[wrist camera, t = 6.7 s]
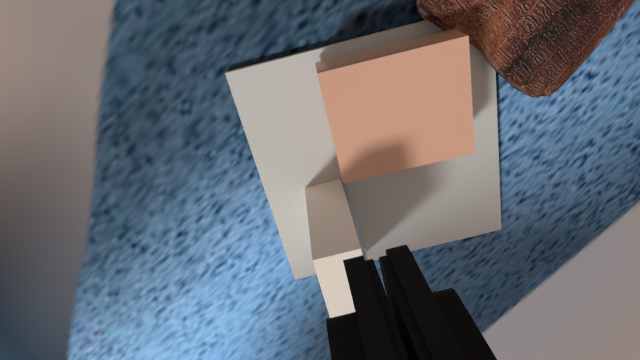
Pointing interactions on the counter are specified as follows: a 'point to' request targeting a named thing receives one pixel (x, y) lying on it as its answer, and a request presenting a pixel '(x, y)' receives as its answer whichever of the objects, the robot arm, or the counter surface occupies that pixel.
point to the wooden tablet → (529, 35)
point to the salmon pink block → (400, 104)
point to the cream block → (333, 242)
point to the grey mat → (375, 192)
